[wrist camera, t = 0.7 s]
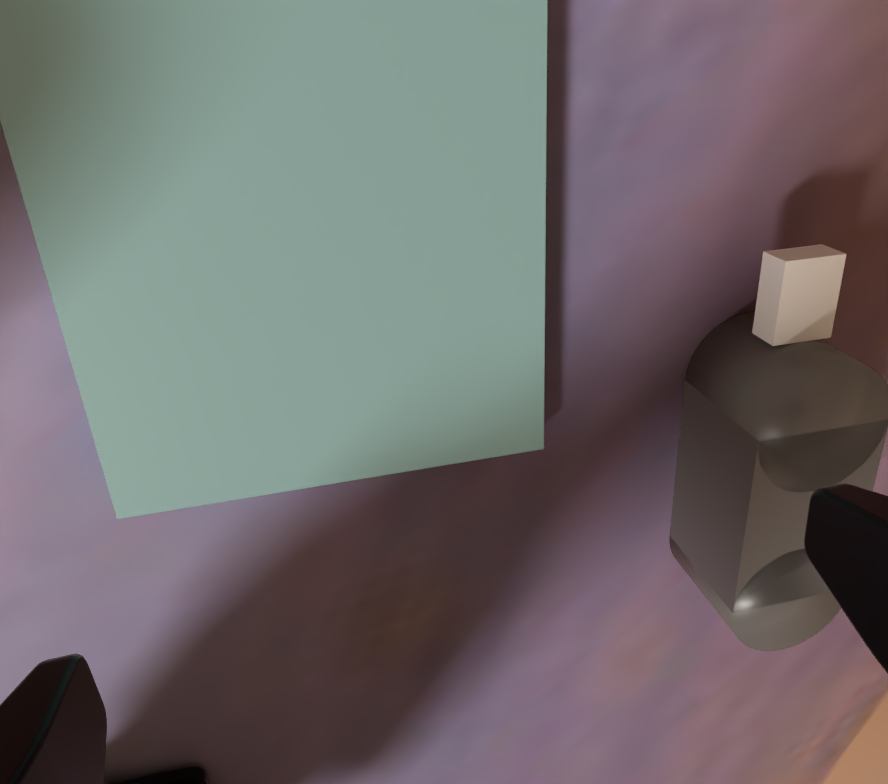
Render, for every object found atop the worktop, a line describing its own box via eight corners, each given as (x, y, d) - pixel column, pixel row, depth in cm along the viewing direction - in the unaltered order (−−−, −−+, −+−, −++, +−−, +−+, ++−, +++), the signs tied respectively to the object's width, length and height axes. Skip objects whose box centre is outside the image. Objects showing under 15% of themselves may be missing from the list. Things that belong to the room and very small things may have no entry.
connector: (765, 560, 28) (838, 636, 25) (664, 580, 28) (725, 661, 24) (822, 226, 23) (925, 264, 19) (698, 241, 22) (782, 283, 19)
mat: (532, 433, 24) (543, 449, 23) (122, 498, 21) (117, 519, 21) (533, -219, 16) (548, -232, 16) (-82, -217, 14) (-104, -232, 13)
